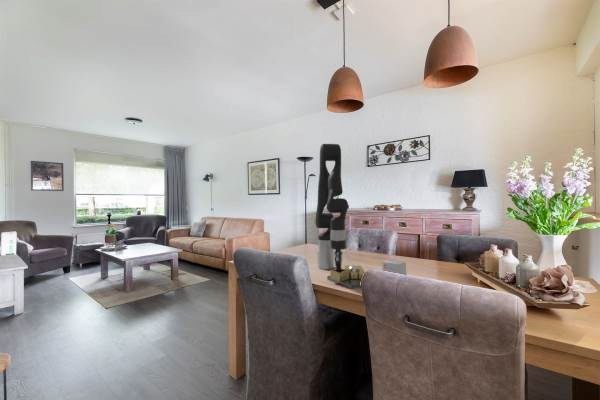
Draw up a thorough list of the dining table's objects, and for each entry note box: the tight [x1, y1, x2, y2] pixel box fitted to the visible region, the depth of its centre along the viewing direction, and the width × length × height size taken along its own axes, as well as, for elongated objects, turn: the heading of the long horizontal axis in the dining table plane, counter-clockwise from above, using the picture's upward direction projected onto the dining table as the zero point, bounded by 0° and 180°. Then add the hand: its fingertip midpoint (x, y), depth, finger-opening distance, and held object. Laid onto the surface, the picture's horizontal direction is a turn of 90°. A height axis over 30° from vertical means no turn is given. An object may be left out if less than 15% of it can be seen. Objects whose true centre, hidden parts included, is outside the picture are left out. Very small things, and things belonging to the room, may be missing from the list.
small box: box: [382, 259, 407, 276], centre depth 116 cm, size 8×6×13 cm
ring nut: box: [329, 265, 365, 281], centre depth 132 cm, size 18×10×4 cm, turn 126°
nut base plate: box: [326, 265, 361, 290], centre depth 132 cm, size 18×17×6 cm
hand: (338, 273), depth 129 cm, fingers closed
